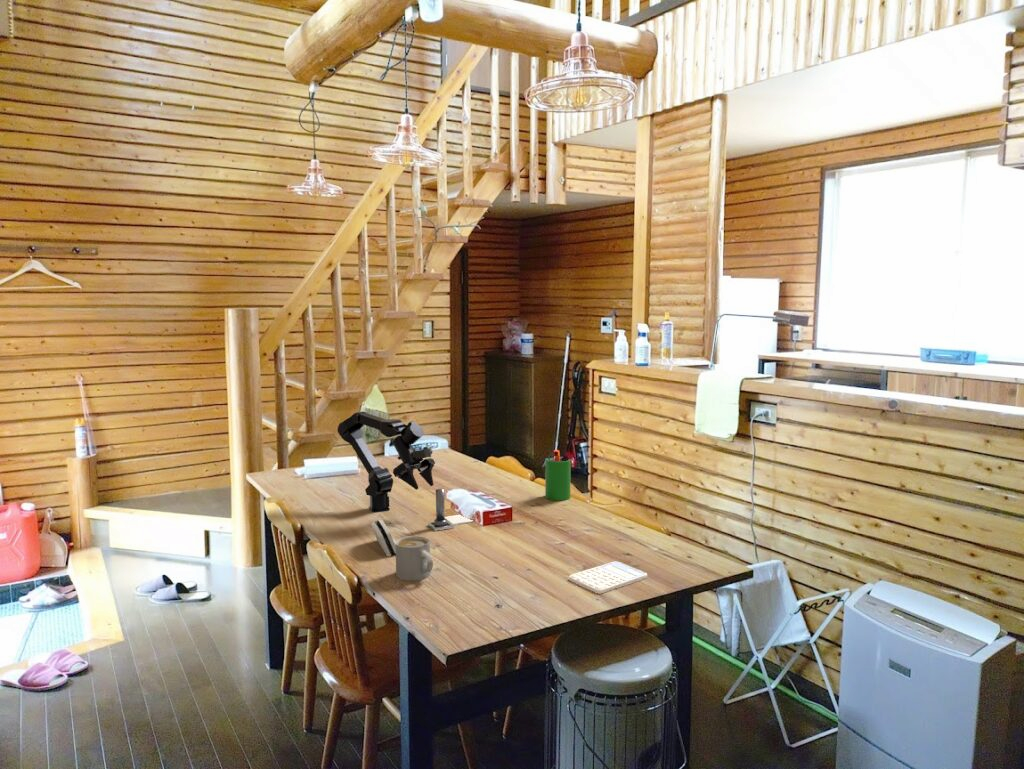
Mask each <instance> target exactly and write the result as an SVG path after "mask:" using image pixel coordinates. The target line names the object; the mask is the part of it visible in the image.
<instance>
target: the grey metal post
mask: <svg viewBox="0 0 1024 769" xmlns="http://www.w3.org/2000/svg"><path fill="white" fill-rule="evenodd" d="M445 514H446V511H445V489H444V488H436V489H435V517H436V518H435V519H434V521H433V522H434V526H435V527H442V526H448V525H447V519H445V517H446V515H445Z"/></svg>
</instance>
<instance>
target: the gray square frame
mask: <svg viewBox="0 0 1024 769" xmlns="http://www.w3.org/2000/svg"><path fill="white" fill-rule="evenodd" d="M427 526H428V527H429V528H430V529H431V528H432V529H431V530H432V531H434V532H438V531H437V530H440V531H444V529H446V530H451V529H454V528H455V525H453V524H451V523H450V522H449V521H447V526H442V527H435V526H434V521H430V522H427Z"/></svg>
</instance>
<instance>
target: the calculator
mask: <svg viewBox="0 0 1024 769" xmlns="http://www.w3.org/2000/svg"><path fill="white" fill-rule="evenodd" d="M647 578H648V573H647V572H645V571H643V570H640V569H638V568H635V567H633V566H631V565H628V564H626V563H624V562H620V561H611V562H608V563H605V564H602V565H598V566H595V567H591V568H589V569H586V570H582V571H580V572H576V573H573V574H570V575H568V581H570V582H571V583H574V584H576V585H577V586H580V587H582V588H584V589H586V590H588V591H590V590H591V591H590V592H592V591H593V592H592V593H594V592H595V593H594V594H597V593H598V595H601V593H602V594H604V592H605V593H608V592H610V590H611V591H614V590H616V589H615V588H617V589H619V587H620V588H622V586H623V587H626V586H628V585H631V584H634V583H637V582H639V581H642V580H646V579H647ZM613 589H614V590H613ZM607 591H608V592H607Z"/></svg>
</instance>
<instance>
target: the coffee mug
mask: <svg viewBox="0 0 1024 769" xmlns="http://www.w3.org/2000/svg"><path fill="white" fill-rule="evenodd" d="M430 540H431V539H429V538H428V537H425V536H422V535H421V536H420V535H409V536H405V537H404V536H403V537H400V538H398V539H397V540H395V542H396V553H395V575H396V578H397V579H398V580H401V581H405V582H417V581H421V580H425V579H427V578H428V577H430V575H431V571H432V570H433V567H434V560H433V559H434V558H433V556H432V554H431V545H430V544H431V542H430Z"/></svg>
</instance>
